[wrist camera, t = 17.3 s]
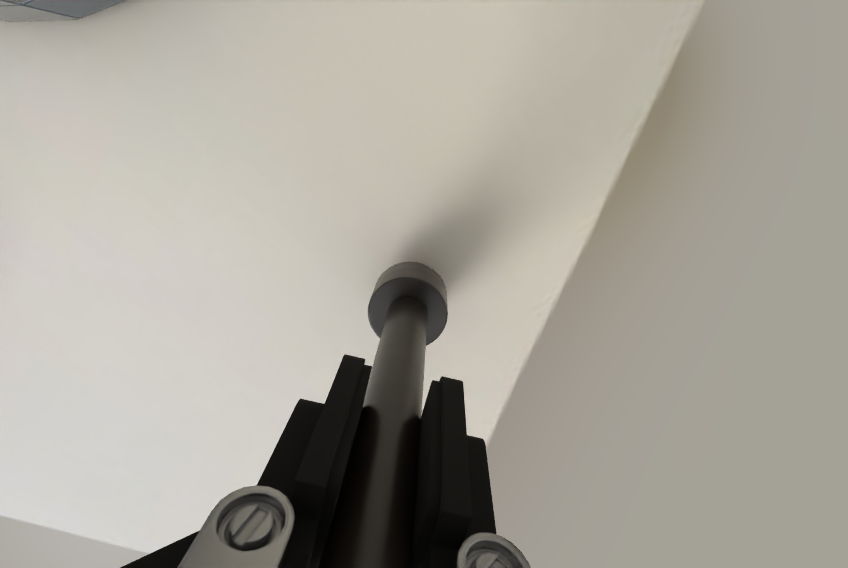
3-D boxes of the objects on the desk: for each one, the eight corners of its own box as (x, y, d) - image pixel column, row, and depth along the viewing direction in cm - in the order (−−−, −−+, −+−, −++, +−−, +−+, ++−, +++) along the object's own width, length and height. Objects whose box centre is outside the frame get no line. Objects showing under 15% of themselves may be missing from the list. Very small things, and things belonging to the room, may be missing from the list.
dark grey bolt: (455, 271, 19) (492, 632, 5) (436, 335, 20) (430, 761, 7) (382, 253, 18) (243, 583, 5) (368, 318, 20) (223, 723, 6)
